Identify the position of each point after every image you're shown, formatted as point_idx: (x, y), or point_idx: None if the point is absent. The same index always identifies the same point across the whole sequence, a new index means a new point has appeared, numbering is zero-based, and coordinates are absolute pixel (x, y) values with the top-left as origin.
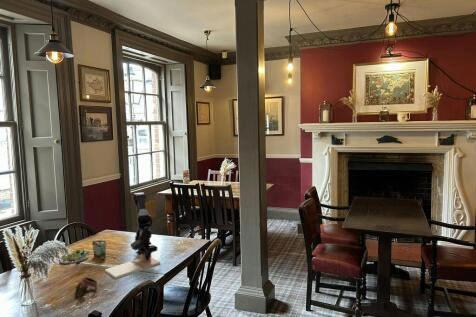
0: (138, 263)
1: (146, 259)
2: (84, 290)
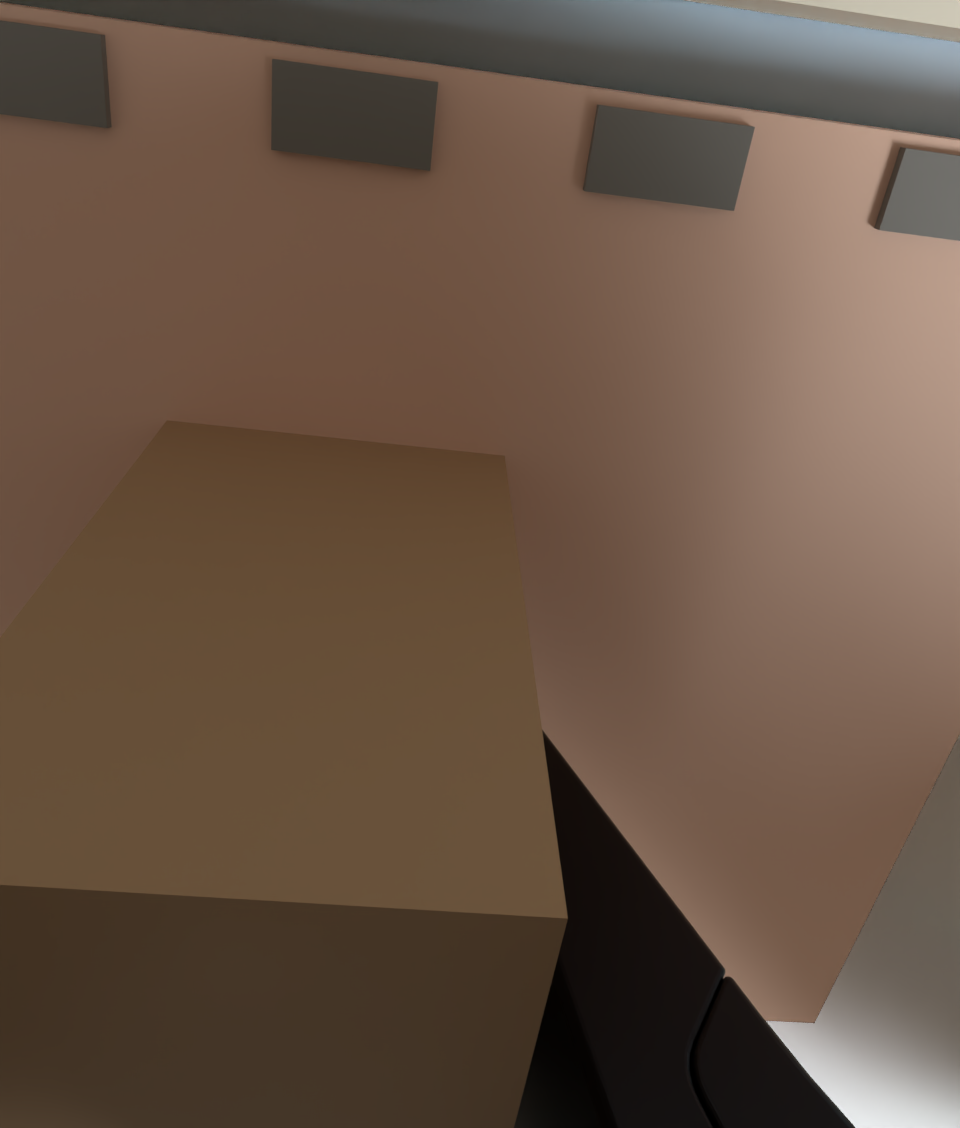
0: (374, 158)
1: None
2: None
